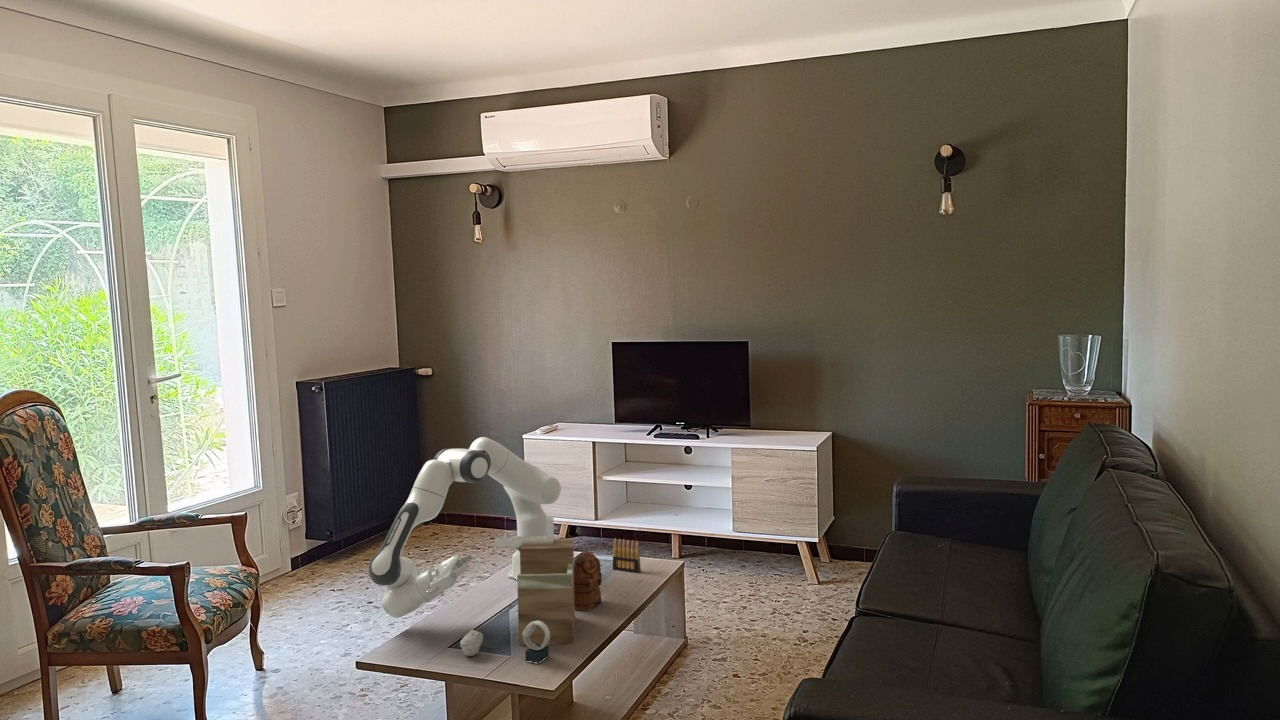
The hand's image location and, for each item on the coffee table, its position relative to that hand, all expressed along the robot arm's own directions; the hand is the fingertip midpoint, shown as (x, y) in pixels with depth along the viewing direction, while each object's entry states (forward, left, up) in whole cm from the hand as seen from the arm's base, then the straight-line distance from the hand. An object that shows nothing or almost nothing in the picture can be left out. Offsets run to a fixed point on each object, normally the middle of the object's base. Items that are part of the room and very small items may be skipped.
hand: (470, 561), depth 273 cm
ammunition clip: (-49, +50, -21) cm, 73 cm away
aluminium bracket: (0, +17, +5) cm, 18 cm away
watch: (+25, +22, -21) cm, 40 cm away
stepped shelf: (+5, +24, -21) cm, 32 cm away
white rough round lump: (+21, +3, -21) cm, 30 cm away
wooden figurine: (-15, +36, -21) cm, 44 cm away
